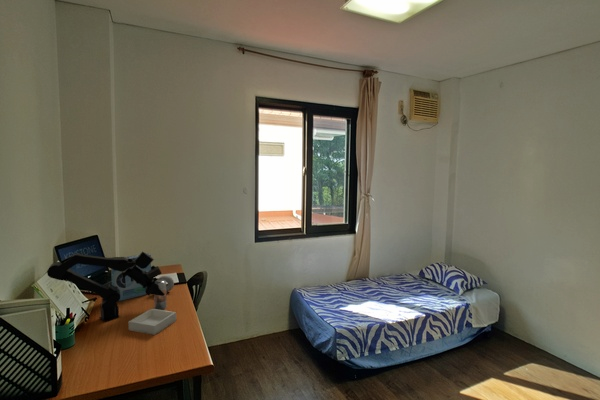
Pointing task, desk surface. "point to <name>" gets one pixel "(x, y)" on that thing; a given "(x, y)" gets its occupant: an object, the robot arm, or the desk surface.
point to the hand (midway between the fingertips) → (163, 293)
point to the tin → (161, 300)
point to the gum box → (128, 283)
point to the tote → (152, 321)
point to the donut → (168, 280)
